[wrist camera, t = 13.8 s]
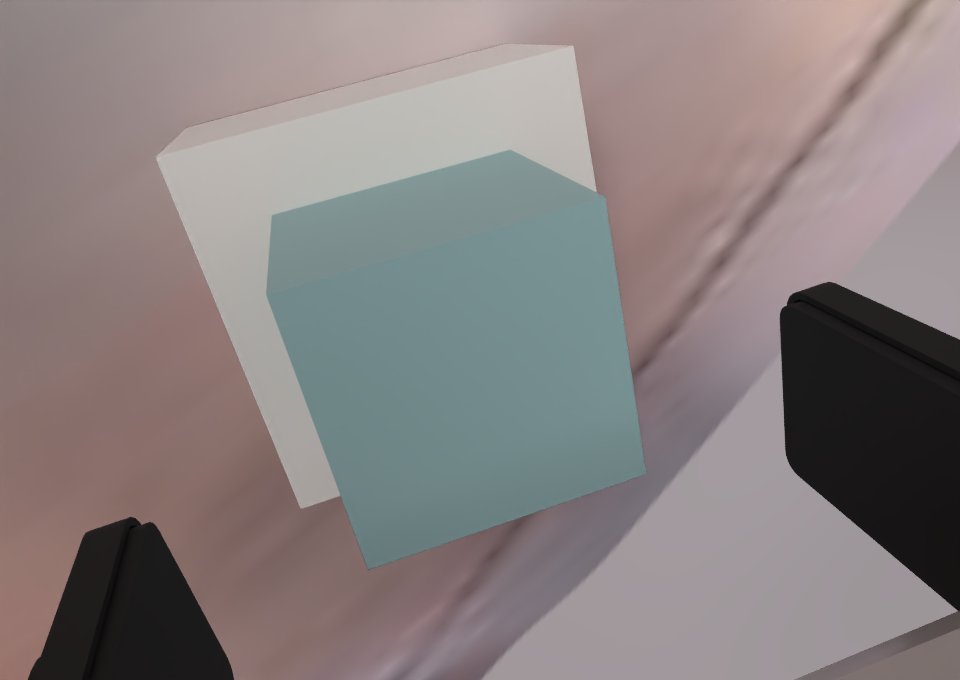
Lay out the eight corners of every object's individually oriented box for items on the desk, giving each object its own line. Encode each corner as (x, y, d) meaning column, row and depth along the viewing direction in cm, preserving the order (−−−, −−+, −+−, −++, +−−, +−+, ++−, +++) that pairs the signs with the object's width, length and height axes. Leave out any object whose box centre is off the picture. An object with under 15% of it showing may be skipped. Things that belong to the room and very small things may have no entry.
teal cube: (271, 215, 17) (265, 294, 12) (510, 149, 18) (605, 196, 13) (345, 425, 20) (368, 569, 15) (552, 360, 21) (646, 474, 15)
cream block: (187, 127, 22) (155, 156, 16) (505, 43, 23) (573, 45, 18) (297, 411, 26) (300, 509, 21) (561, 327, 27) (629, 398, 22)
